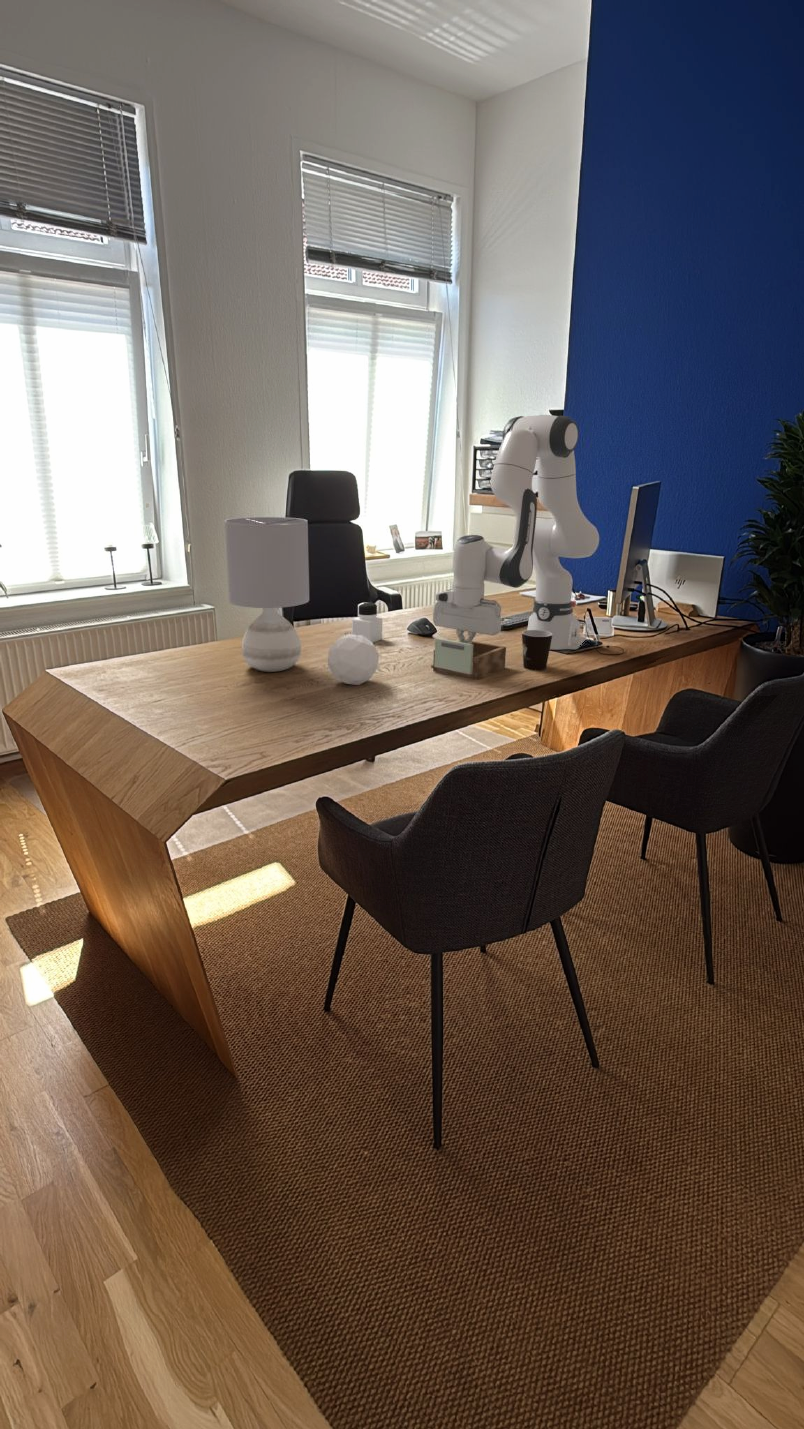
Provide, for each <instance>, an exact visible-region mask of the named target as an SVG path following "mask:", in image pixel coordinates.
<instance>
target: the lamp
mask: <svg viewBox="0 0 804 1429" xmlns="http://www.w3.org/2000/svg"><path fill="white" fill-rule="evenodd" d="M308 522H309V521H308V520H307V519H304V518H296V517H285V516H283V517H282V516H281V517H279V516H249V517H235V518H228V519H225V520H224V534H225V552H226V571H227V585H228V586H227V587H228V588H227V590H228V602H229V603H230V604H232V605H234V606H237V607H238V606H239V607H245V608H254V609H261V610H262V613H261V614H259V616H257V617H256V618H255V619H254V620H253V621H252V622H251V623H250V624H249V626H248V627H247V628H246V629H245V630H246V631H245V633H244V635H243V638H242V640H241V641H242V642H241V652H242V656H243V659H244V661H245V662H246V663H247V665H249V666H250V667H251V668H253V669H254V670H258V671H260V672H264V673H266V672H267V673H274V672H275V673H277V672H282V671H286V670H288V669H290V668H292V667H293V666H295V665H296V663H297V662H298V661H299V659H300V658H301V653H302V643H301V639H300V636H299V633H298V632H297V629H296V628H295V627H294V625H293V624H292V623H291V622H290V621H289V620H288V619H286V618H285V617H284V616H283V615H282V614H280V612H279V609H278V608H281V609H282V608H290V607H296V606H300V605H304V604H307V603H309V601H310V572H309V571H310V567H309V566H310V565H309V564H310V563H309V526H308Z"/></svg>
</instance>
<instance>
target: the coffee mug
mask: <svg viewBox="0 0 804 1429" xmlns="http://www.w3.org/2000/svg"><path fill="white" fill-rule="evenodd" d="M552 635H553V634H552V633H551V632H548V631H543V630H527V629H526V630H523V631H522V632H521V644H522V661H523V668H524V669H526V670H528V671H529V670H530V671H543V670H546V669H547V664H548V660H549V654H550V651H551V649H550V645H551V640H552Z"/></svg>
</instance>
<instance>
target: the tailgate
mask: <svg viewBox="0 0 804 1429" xmlns="http://www.w3.org/2000/svg"><path fill="white" fill-rule="evenodd" d="M434 650H435V661H434V667H438V668H443V669H448V670H453V671H458V672H462V673H467V674H471V673H472V663H473V644H468V643H462V642H459V641H456V640H452V639H451V640H450V639H445V638H439V637H436V638H435V639H434Z"/></svg>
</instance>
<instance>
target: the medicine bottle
mask: <svg viewBox="0 0 804 1429" xmlns="http://www.w3.org/2000/svg"><path fill="white" fill-rule="evenodd" d="M377 606H378V605H377V604H376V603H374V602H361V603H359V604H357V617H355V618H353V619H352V620H351V624H352V625H351V627H352V628H351V629H352V630H351V631H352V632H351V634H352V633H353V635H354V634H355V635H356V633H357V635H362V636H364V637H365V638H367V639H368V640H369V641H371V642H372V643H373V644H374V643H375V642H378V641H381V640H383V618H382V617H379V616H378V607H377ZM377 616H378V617H377Z"/></svg>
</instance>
